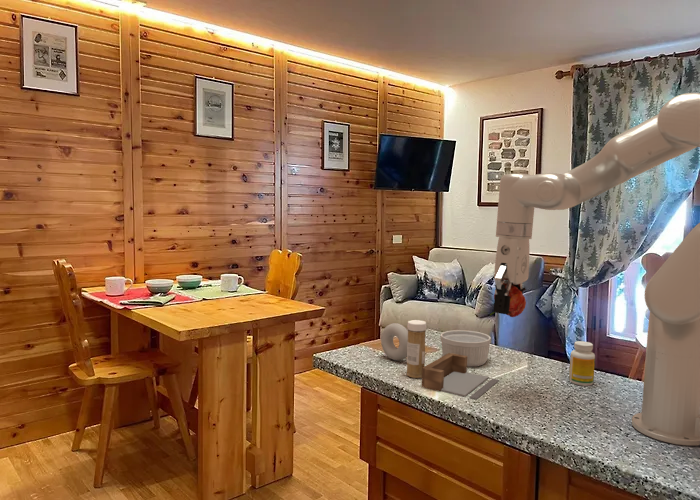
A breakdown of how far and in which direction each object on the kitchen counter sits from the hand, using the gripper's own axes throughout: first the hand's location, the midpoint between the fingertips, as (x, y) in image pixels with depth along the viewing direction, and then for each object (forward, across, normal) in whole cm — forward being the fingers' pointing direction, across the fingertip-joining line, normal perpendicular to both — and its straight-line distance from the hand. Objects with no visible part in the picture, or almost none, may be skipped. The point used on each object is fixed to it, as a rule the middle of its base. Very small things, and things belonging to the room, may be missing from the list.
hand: (507, 309), depth 115 cm
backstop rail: (+19, -1, +13) cm, 23 cm away
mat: (+19, -1, +9) cm, 21 cm away
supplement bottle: (+19, +18, -14) cm, 29 cm away
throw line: (+19, -1, +3) cm, 19 cm away
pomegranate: (+2, 0, 0) cm, 2 cm away
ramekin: (+20, +16, +15) cm, 30 cm away
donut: (+20, +5, +30) cm, 37 cm away
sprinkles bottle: (+20, -2, +20) cm, 28 cm away
